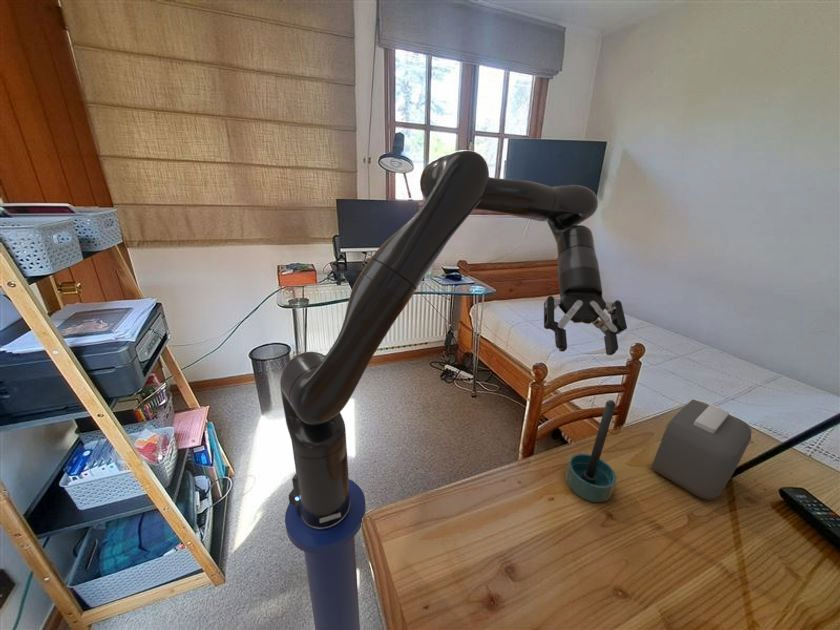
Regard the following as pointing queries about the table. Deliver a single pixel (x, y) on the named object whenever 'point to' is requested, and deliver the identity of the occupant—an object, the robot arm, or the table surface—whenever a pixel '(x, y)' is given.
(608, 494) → the bowl
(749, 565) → the table surface
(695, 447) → the alarm clock
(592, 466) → the long dark rod
